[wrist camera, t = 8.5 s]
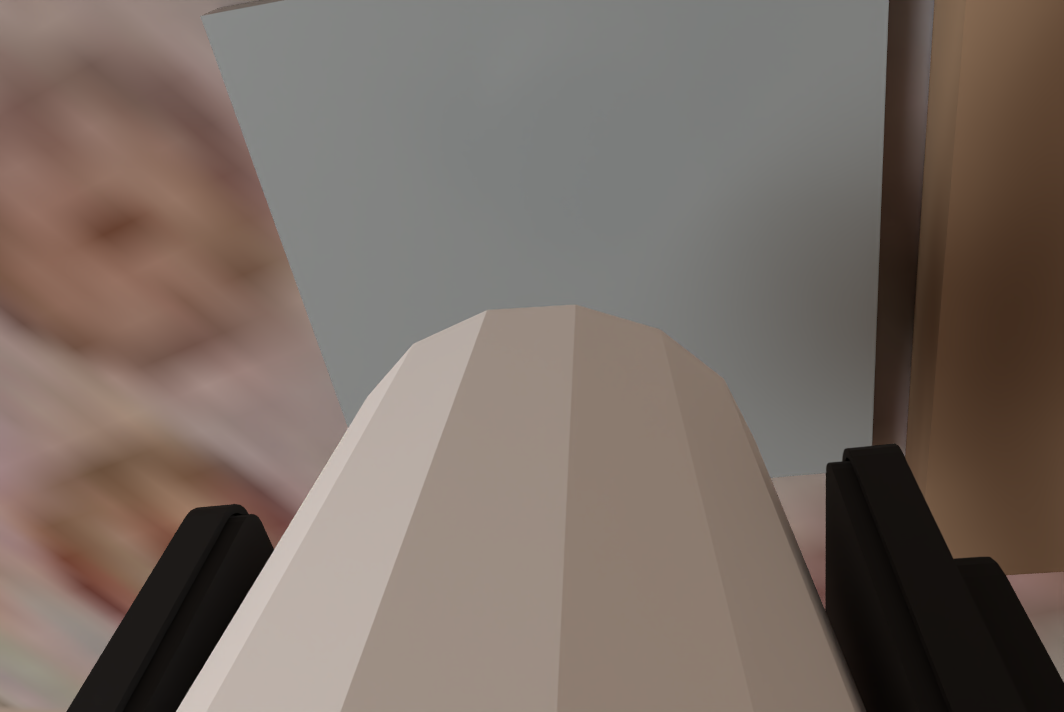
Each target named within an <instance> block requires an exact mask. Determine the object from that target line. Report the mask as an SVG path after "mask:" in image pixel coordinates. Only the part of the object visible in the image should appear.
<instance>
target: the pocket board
mask: <svg viewBox="0 0 1064 712" xmlns="http://www.w3.org/2000/svg"><path fill="white" fill-rule="evenodd" d="M905 459H906V461H907V463H908V465H909V467H910V469H911V471H912V473H913V475H914V477H915V479H916V482H917V484H918V486H919V488H920V490H921V492H922V494H923V496H924V498H925V500H926V502H927V504H928V507H929V509H930V511H931V513H932V515H933V517H934V519H935V521H936V523H937V525H938V527H939V529H940V532H941V534H942V536H943V538H944V540H945V542H946V544H947V546H948V548H949V550H950V552H951V554H952V557H953V559H955V558H969V557H991V558H992V559H994V560H995V561H996V562H997V563H998V564H999V566H1000V567H1001V569H1002V570H1003V572H1004V573H1005V575H1016V574H1032V573H1048V572H1064V0H935V2H934V18H933V34H932V49H931V65H930V80H929V96H928V112H927V127H926V143H925V159H924V174H923V190H922V205H921V221H920V237H919V252H918V268H917V283H916V299H915V315H914V330H913V346H912V361H911V377H910V393H909V408H908V424H907V440H906V455H905Z"/></svg>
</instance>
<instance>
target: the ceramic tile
mask: <svg viewBox="0 0 1064 712" xmlns="http://www.w3.org/2000/svg"><path fill="white" fill-rule="evenodd" d="M888 10H889V0H259V1H253V2H248V3H243V4H238V5H232V6H227V7H222V8H217V9H215V10H213V11H211V12H208V13H206V14H204V15H202V16H201V19H202V22H203V25H204V27H205V30H206V33H207V36H208V39H209V41H210V44H211V47H212V50H213V53H214V55H215V58H216V61H217V64H218V66H219V69H220V72H221V75H222V78H223V80H224V83H225V86H226V89H227V92H228V94H229V97H230V100H231V103H232V105H233V108H234V111H235V114H236V117H237V119H238V122H239V125H240V128H241V130H242V133H243V136H244V139H245V142H246V144H247V147H248V150H249V153H250V156H251V158H252V161H253V164H254V167H255V169H256V172H257V175H258V178H259V181H260V183H261V186H262V189H263V192H264V195H265V197H266V200H267V203H268V206H269V208H270V211H271V214H272V217H273V220H274V222H275V225H276V228H277V231H278V233H279V236H280V239H281V242H282V245H283V247H284V250H285V253H286V256H287V259H288V261H289V264H290V267H291V270H292V272H293V275H294V278H295V281H296V284H297V286H298V289H299V292H300V295H301V298H302V300H303V303H304V306H305V309H306V311H307V314H308V317H309V320H310V323H311V325H312V328H313V331H314V334H315V337H316V339H317V342H318V345H319V348H320V350H321V353H322V356H323V359H324V362H325V364H326V367H327V370H328V373H329V375H330V378H331V381H332V384H333V387H334V389H335V392H336V395H337V398H338V401H339V403H340V406H341V409H342V412H343V414H344V417H345V420H346V423H347V426H348V428H349V426H350V424H351V423H352V421H353V419H354V418H355V416H356V414H357V413H358V411H359V410H360V408H361V406H362V405H363V403H364V401H365V400H366V398H367V396H368V395H369V394H370V393H371V392H372V391H373V390H374V388H375V387H376V386H377V385H378V384H379V383H380V381H381V380H382V379H383V378H384V377H385V376H386V375H387V373H388V372H389V371H390V370H391V369H392V368H393V367H394V365H395V364H396V363H397V362H398V361H399V360H400V358H401V357H402V356H403V355H404V354H405V353H406V352H407V350H408V349H409V348H410V347H411V346H412V345H413V344H414V343H416V342H418V341H420V340H423V339H425V338H427V337H429V336H431V335H433V334H436V333H438V332H440V331H442V330H444V329H447V328H449V327H451V326H453V325H455V324H458V323H460V322H462V321H464V320H466V319H469V318H471V317H473V316H475V315H477V314H479V313H482V312H484V311H486V310H495V309H512V308H528V307H544V306H560V305H579V306H582V307H586V308H589V309H592V310H596V311H599V312H603V313H606V314H609V315H613V316H616V317H620V318H623V319H626V320H630V321H633V322H637V323H640V324H643V325H647V326H650V327H654V328H657V329H660V330H662V331H663V332H664V333H666V334H667V335H668V336H669V337H671V338H672V339H673V340H675V341H676V342H677V343H678V344H680V345H681V346H682V347H684V348H685V349H686V350H687V351H689V352H690V353H691V354H693V355H694V356H695V357H696V358H698V359H699V360H700V361H702V362H703V363H704V364H705V365H707V366H708V367H709V368H711V369H712V370H713V371H714V372H716V373H717V374H718V375H720V376H721V377H722V378H724V380H725V382H726V384H727V386H728V388H729V390H730V392H731V394H732V396H733V398H734V400H735V402H736V404H737V406H738V408H739V410H740V412H741V414H742V416H743V418H744V419H745V421H746V423H747V425H748V427H749V429H750V431H751V433H752V435H753V437H754V439H755V441H756V444H757V446H758V449H759V451H760V453H761V456H762V458H763V461H764V463H765V466H766V468H767V470H768V473H769V475H770V478H773V477H785V476H797V475H809V474H821V473H826V466H827V463H830V462H841V461H842V457H843V452H844V449H846V448H854V447H865V446H872V432H873V406H874V380H875V353H876V327H877V300H878V274H879V248H880V221H881V195H882V168H883V142H884V116H885V89H886V63H887V36H888Z"/></svg>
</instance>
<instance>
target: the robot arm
mask: <svg viewBox="0 0 1064 712" xmlns="http://www.w3.org/2000/svg"><path fill="white" fill-rule="evenodd" d="M273 551H274V548H273V546H272V544H271V542H270V540H269V537H268V535H267V533H266V531H265V529H264V527H263V524H262V522H261V521H260V519H259V517H257V516H256V515H254V514H248V512H247V511H246V509H245V508H244V507H242V506H241V505H237V504H232V505H221V506H210V507H199V508H195V509H193V510H191V511H190V512H189V513H188V514H187V516H186V517H185V519H184V520H183V522H182V523H181V525H180V527H179V528H178V530H177V532H176V533H175V535H174V537H173V538H172V540H171V541H170V543H169V545H168V546H167V548H166V550H165V551H164V553H163V555H162V556H161V558H160V559H159V561H158V563H157V564H156V566H155V568H154V569H153V571H152V573H151V574H150V576H149V577H148V579H147V581H146V582H145V584H144V586H143V587H142V589H141V591H140V592H139V594H138V595H137V597H136V599H135V600H134V602H133V604H132V605H131V607H130V609H129V610H128V612H127V613H126V615H125V617H124V618H123V620H122V622H121V623H120V625H119V627H118V628H117V630H116V631H115V633H114V635H113V636H112V638H111V640H110V641H109V643H108V645H107V646H106V648H105V649H104V651H103V653H102V654H101V656H100V658H99V659H98V661H97V663H96V664H95V666H94V667H93V669H92V671H91V672H90V674H89V676H88V677H87V679H86V681H85V682H84V684H83V685H82V687H81V689H80V690H79V692H78V694H77V695H76V697H75V699H74V700H73V702H72V703H71V705H70V707H69V708H68V710H67V712H176V711H177V709H178V707H179V706H180V704H181V703H182V701H183V699H184V698H185V696H186V694H187V693H188V691H189V689H190V688H191V686H192V684H193V683H194V681H195V679H196V678H197V676H198V675H199V673H200V671H201V670H202V668H203V666H204V665H205V663H206V661H207V660H208V658H209V656H210V655H211V653H212V651H213V650H214V648H215V647H216V645H217V643H218V642H219V640H220V638H221V637H222V635H223V633H224V632H225V630H226V628H227V627H228V625H229V624H230V622H231V620H232V619H233V617H234V615H235V614H236V612H237V610H238V609H239V607H240V605H241V604H242V602H243V600H244V599H245V597H246V596H247V594H248V592H249V591H250V589H251V587H252V586H253V584H254V582H255V581H256V579H257V577H258V576H259V574H260V572H261V571H262V569H263V568H264V566H265V564H266V563H267V561H268V559H269V558H270V556H271V554H272V553H273ZM826 614H827V617H828V619H829V622H830V624H831V626H832V629H833V631H834V634H835V636H836V639H837V641H838V643H839V646H840V648H841V651H842V653H843V656H844V658H845V661H846V663H847V665H848V668H849V670H850V673H851V675H852V678H853V680H854V682H855V685H856V687H857V690H858V692H859V695H860V697H861V700H862V702H863V704H864V707H865V709H866V712H1064V682H1063V681H1062V679H1061V677H1060V675H1059V673H1058V671H1057V669H1056V668H1055V666H1054V664H1053V662H1052V660H1051V658H1050V656H1049V655H1048V653H1047V651H1046V649H1045V647H1044V645H1043V643H1042V642H1041V640H1040V638H1039V636H1038V634H1037V632H1036V630H1035V629H1034V627H1033V625H1032V623H1031V621H1030V619H1029V618H1028V616H1027V614H1026V612H1025V610H1024V608H1023V606H1022V605H1021V603H1020V601H1019V599H1018V597H1017V595H1016V593H1015V592H1014V590H1013V588H1012V586H1011V584H1010V582H1009V580H1008V579H1007V577H1006V575H1005V573H1004V572H1003V570H1002V569H1001V567H1000V566H999V564H998V563H997V562H996V561H995V560H994V559H992V558H991V557H969V558H955V559H953V557H952V554H951V552H950V550H949V548H948V546H947V544H946V542H945V540H944V538H943V536H942V534H941V532H940V529H939V527H938V525H937V523H936V521H935V519H934V517H933V515H932V513H931V511H930V509H929V507H928V504H927V502H926V500H925V498H924V496H923V494H922V492H921V490H920V488H919V486H918V484H917V482H916V479H915V477H914V475H913V473H912V471H911V469H910V467H909V465H908V463H907V461H906V459H905V457H904V454H903V452H902V451H901V449H900V447H899V446H898V445H896V444H887V445H876V446H865V447H854V448H846V449H844V452H843V457H842V461H841V462H830V463H827V466H826Z"/></svg>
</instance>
